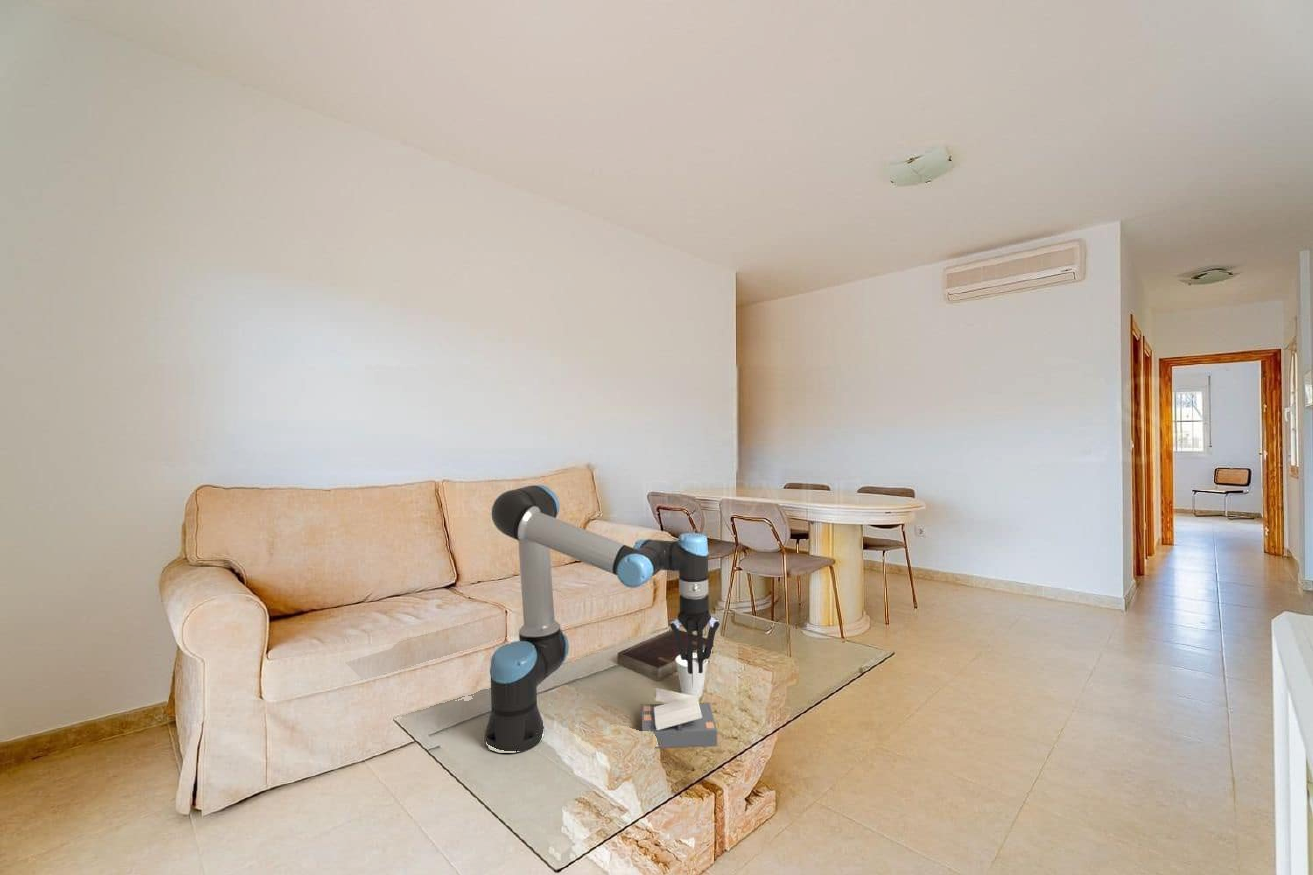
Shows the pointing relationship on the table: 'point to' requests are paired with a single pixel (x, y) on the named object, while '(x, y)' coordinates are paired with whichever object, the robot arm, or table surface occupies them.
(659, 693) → the rocker
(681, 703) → the white block
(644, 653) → the dark brown tray
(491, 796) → the table surface
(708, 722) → the switch unit
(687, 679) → the cup
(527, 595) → the robot arm
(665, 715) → the rocker
